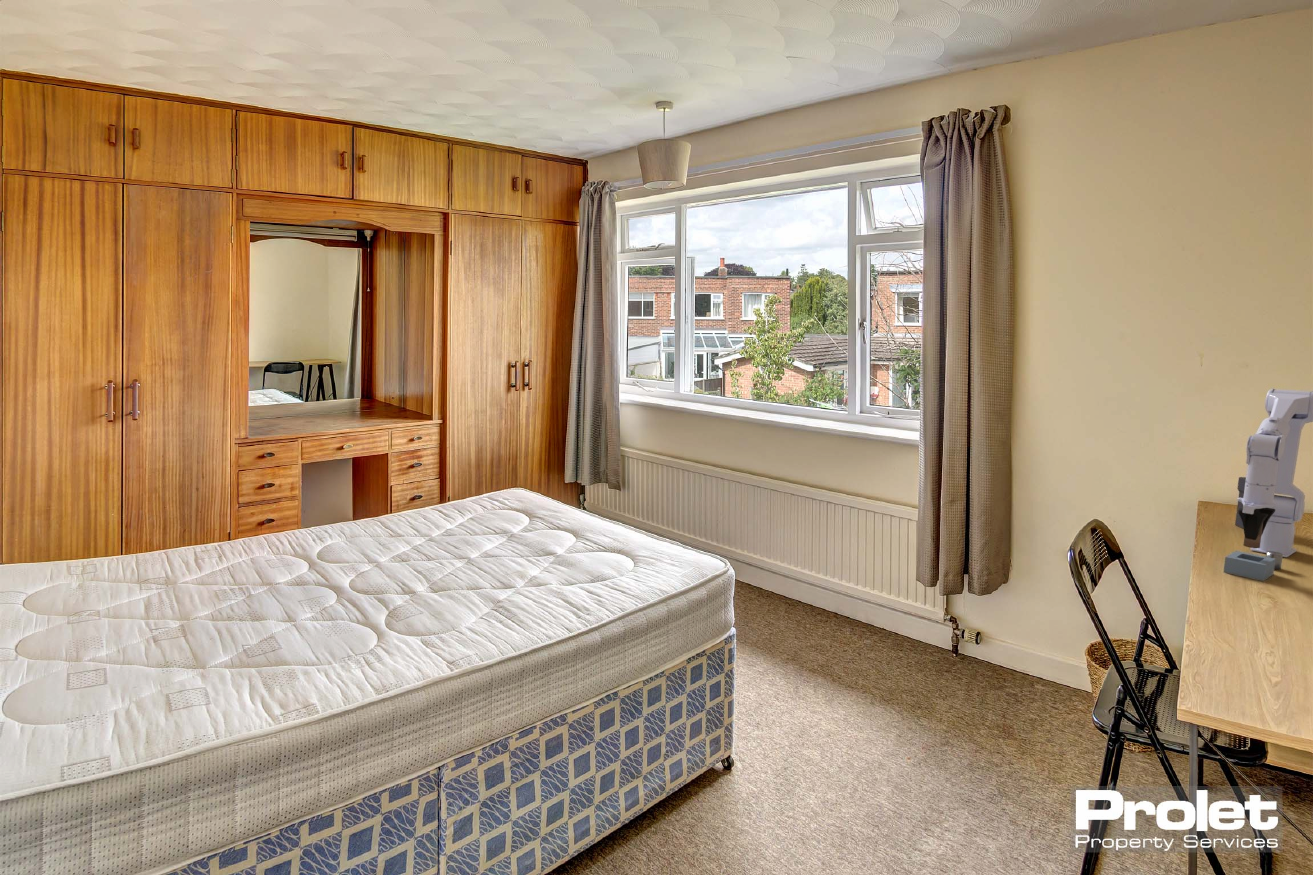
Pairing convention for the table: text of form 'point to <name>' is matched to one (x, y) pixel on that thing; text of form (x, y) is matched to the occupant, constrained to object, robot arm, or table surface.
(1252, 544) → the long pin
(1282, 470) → the robot arm
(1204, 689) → the table surface
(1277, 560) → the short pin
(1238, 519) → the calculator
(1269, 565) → the hole block
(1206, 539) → the table surface
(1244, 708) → the table surface
